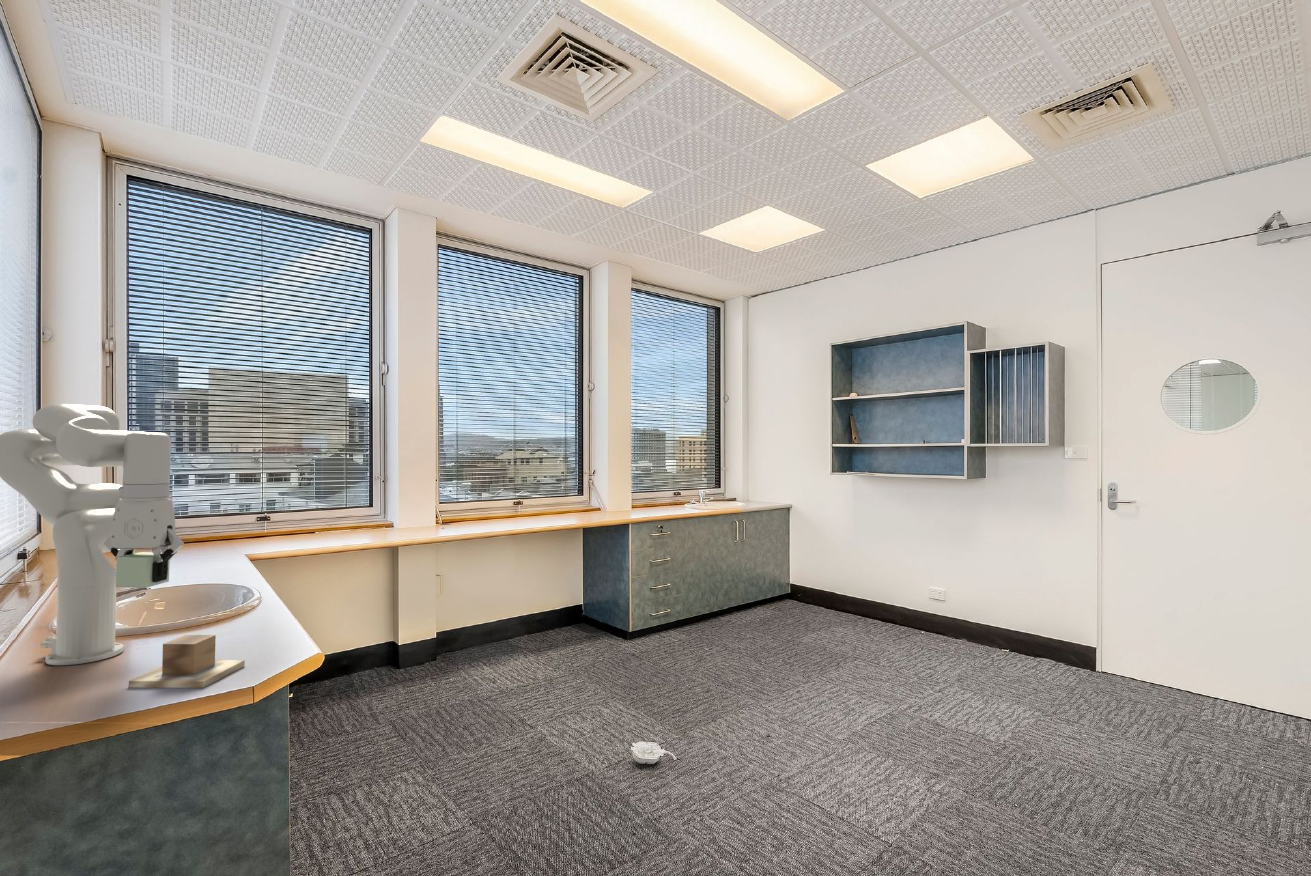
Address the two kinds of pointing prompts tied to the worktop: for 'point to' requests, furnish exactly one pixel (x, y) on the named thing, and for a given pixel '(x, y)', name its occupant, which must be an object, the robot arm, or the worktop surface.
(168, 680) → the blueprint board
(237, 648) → the worktop surface
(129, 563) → the sage cube
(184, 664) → the walnut cube
